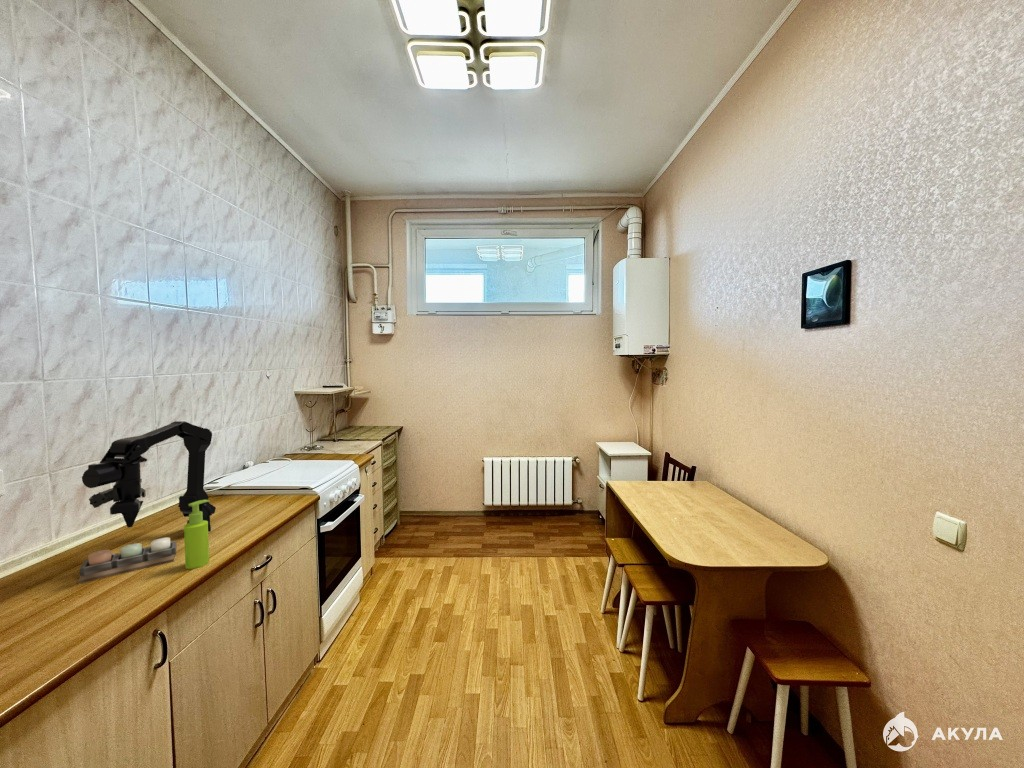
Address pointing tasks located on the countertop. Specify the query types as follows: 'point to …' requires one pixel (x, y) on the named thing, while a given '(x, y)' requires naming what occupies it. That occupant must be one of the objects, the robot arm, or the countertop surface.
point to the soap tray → (126, 563)
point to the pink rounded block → (99, 557)
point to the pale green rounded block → (131, 550)
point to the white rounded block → (160, 544)
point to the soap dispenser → (196, 538)
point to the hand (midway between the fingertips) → (130, 526)
